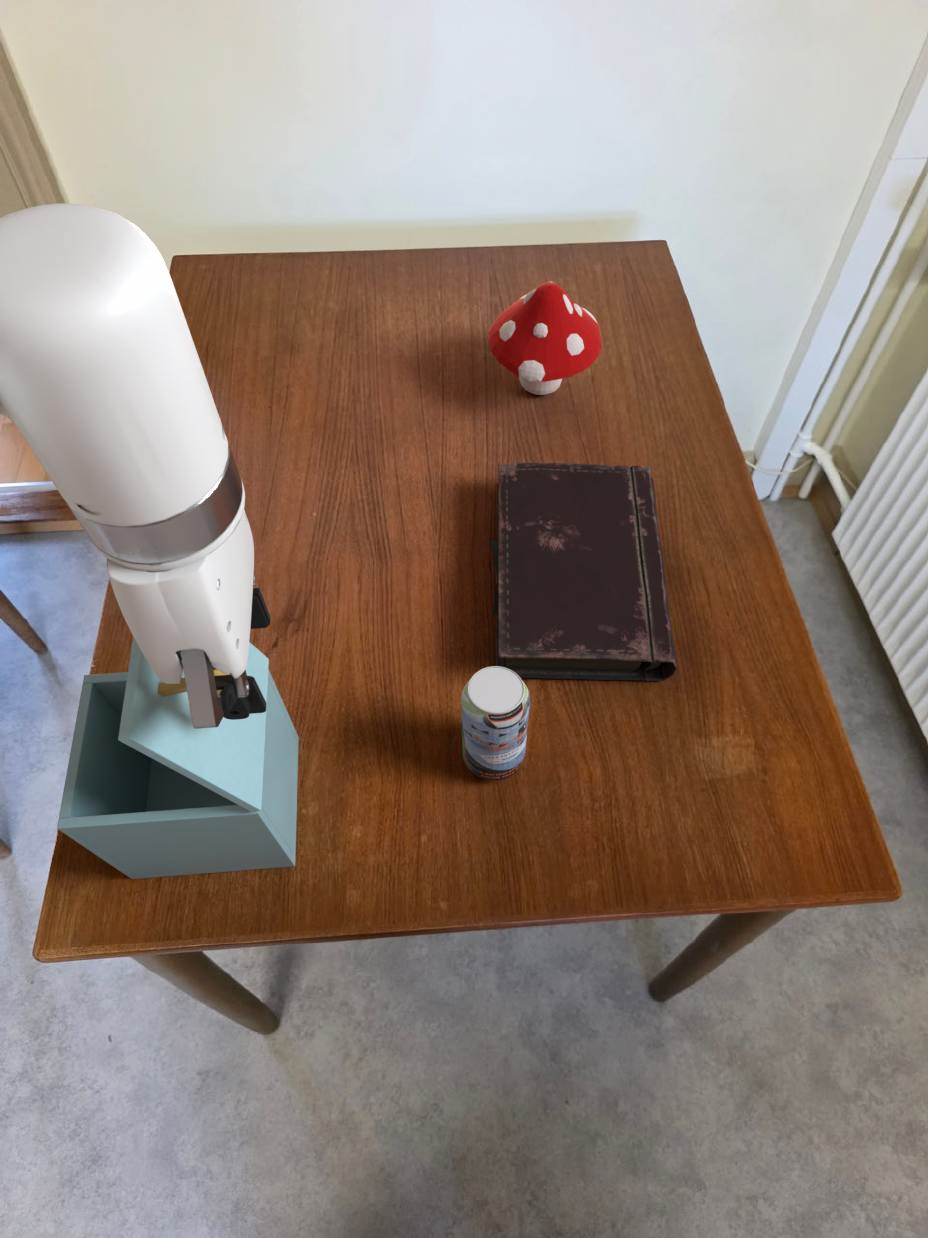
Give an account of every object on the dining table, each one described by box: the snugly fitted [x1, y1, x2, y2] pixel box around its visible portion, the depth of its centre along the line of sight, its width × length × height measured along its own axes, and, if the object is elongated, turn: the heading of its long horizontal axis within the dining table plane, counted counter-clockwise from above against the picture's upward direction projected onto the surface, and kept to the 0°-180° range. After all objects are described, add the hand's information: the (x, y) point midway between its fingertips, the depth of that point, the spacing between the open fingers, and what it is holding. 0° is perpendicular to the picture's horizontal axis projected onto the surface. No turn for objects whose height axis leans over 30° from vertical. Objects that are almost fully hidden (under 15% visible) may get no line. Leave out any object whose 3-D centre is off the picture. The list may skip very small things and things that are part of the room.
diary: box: [489, 462, 678, 682], centre depth 87 cm, size 19×25×5 cm
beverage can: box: [460, 665, 531, 781], centre depth 74 cm, size 6×7×12 cm
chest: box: [56, 668, 300, 880], centre depth 69 cm, size 15×13×16 cm
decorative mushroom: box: [487, 280, 602, 396], centre depth 98 cm, size 14×14×15 cm
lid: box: [118, 636, 270, 812], centre depth 56 cm, size 15×13×5 cm
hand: (244, 664), depth 53 cm, fingers closed on lid, 5 cm apart
